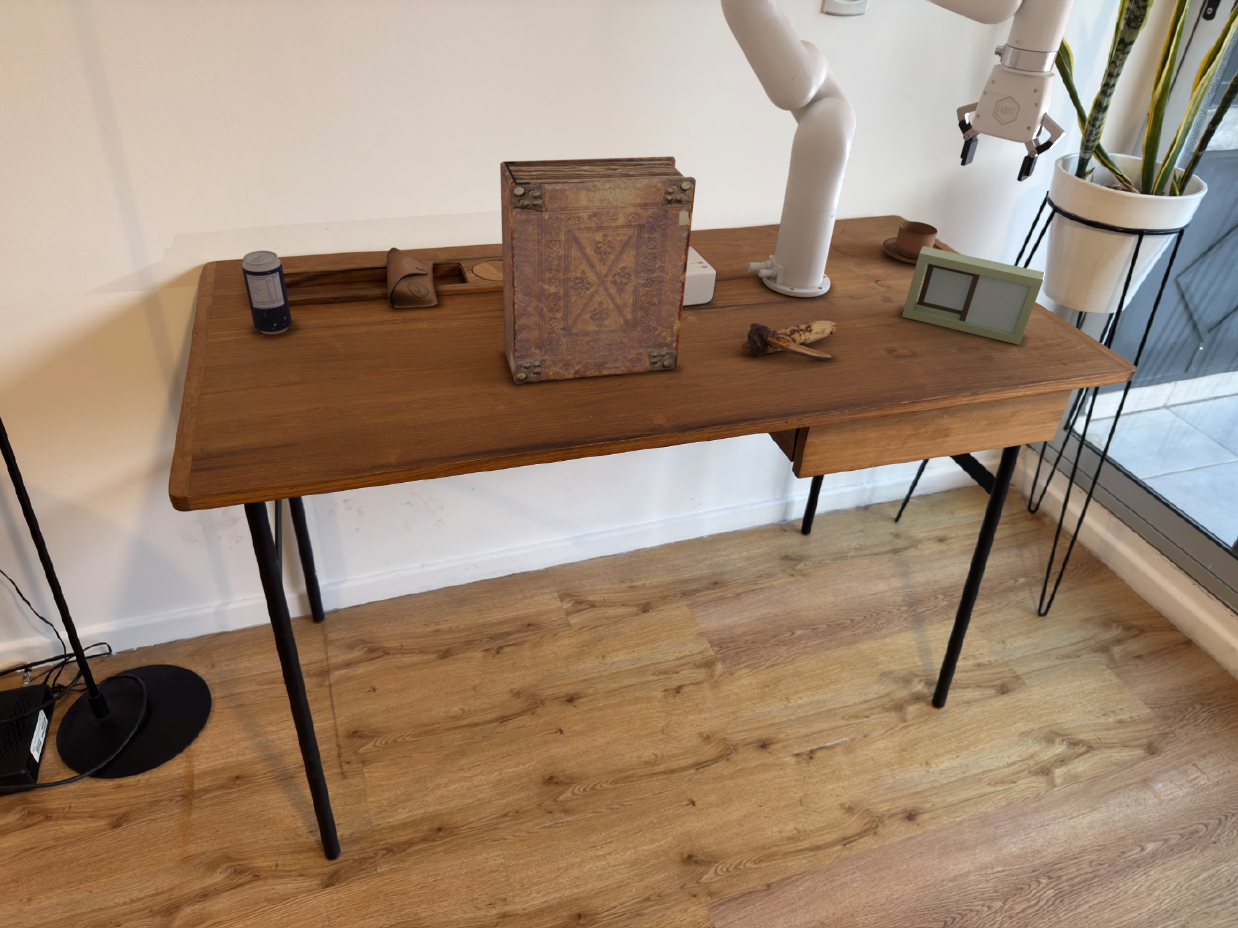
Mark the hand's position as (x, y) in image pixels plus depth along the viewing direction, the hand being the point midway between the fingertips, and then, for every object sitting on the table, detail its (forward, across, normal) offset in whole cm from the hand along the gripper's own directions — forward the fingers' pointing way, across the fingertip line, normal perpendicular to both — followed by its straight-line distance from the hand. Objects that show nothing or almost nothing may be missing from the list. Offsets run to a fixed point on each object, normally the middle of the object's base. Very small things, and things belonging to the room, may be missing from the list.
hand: (993, 171), depth 145 cm
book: (+25, -31, -62) cm, 74 cm away
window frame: (+25, +4, -4) cm, 26 cm away
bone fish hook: (+25, -11, -35) cm, 45 cm away
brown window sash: (+23, -1, -2) cm, 24 cm away
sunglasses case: (+25, -71, -66) cm, 100 cm away
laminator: (+25, -44, -43) cm, 67 cm away
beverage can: (+25, -72, -92) cm, 120 cm away
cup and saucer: (+25, -17, +17) cm, 35 cm away
